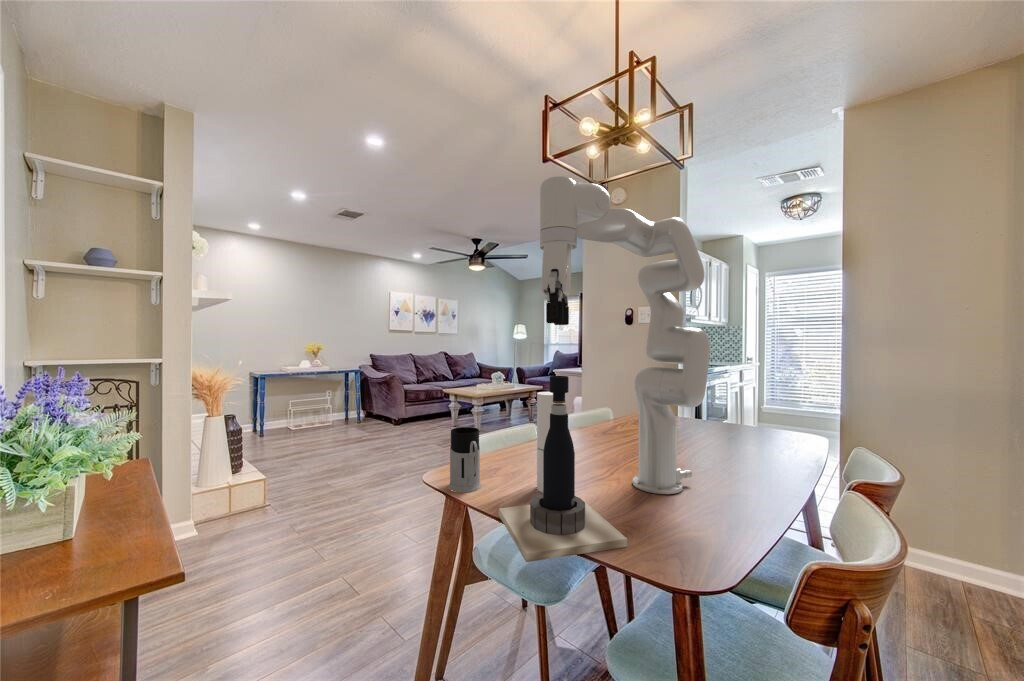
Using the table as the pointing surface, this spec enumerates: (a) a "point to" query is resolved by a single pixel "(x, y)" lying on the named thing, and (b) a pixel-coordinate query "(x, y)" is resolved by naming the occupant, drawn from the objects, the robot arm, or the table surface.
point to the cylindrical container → (542, 430)
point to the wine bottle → (559, 453)
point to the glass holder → (464, 460)
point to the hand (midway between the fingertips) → (558, 324)
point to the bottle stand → (559, 530)
